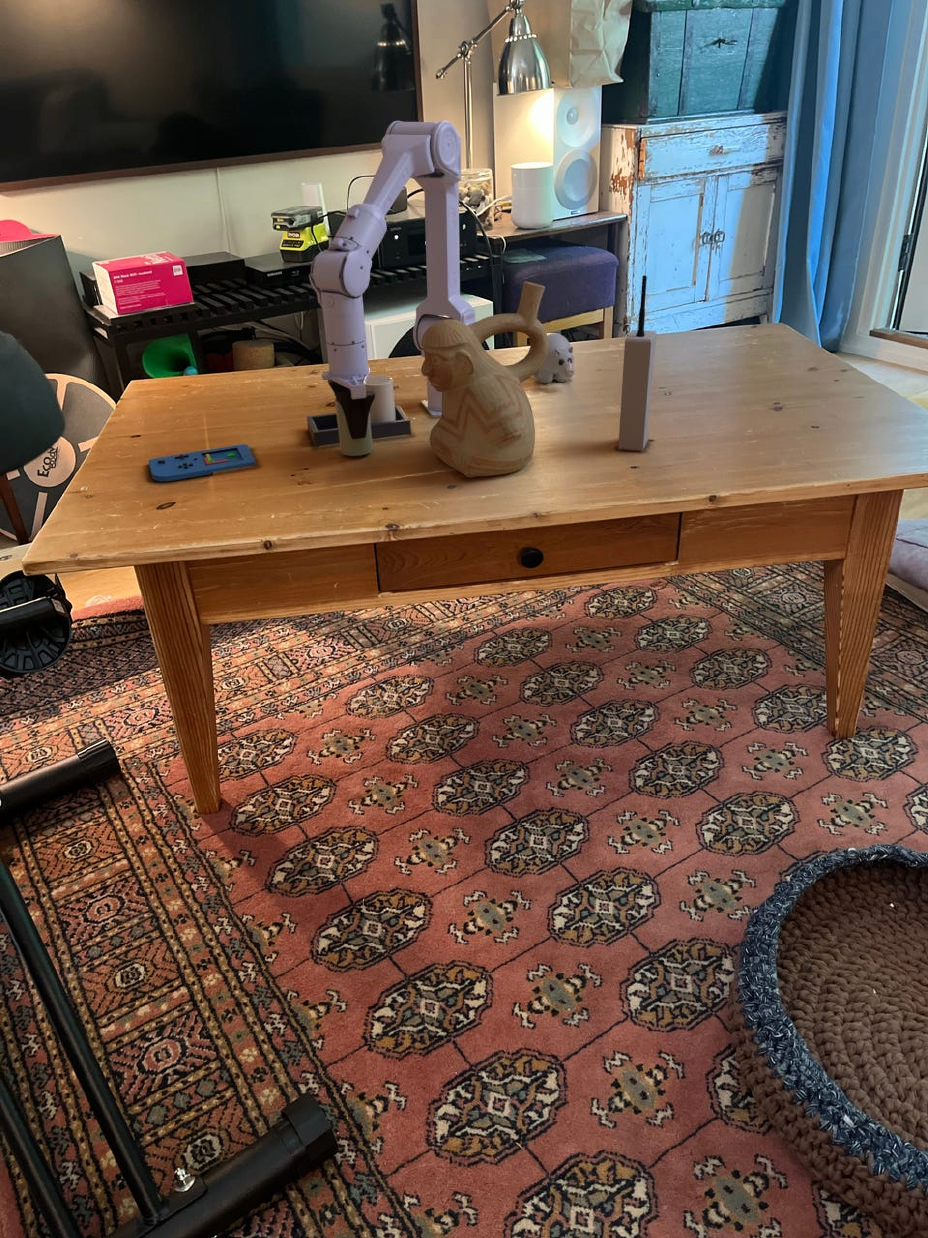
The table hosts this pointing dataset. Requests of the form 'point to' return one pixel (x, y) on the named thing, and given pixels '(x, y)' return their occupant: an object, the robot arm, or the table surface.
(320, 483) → the table surface
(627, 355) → the vintage mobile phone
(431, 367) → the ceramic vessel
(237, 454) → the handheld gaming device
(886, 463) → the table surface
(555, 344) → the chubby cartoon animal
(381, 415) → the cream cup
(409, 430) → the cup holder
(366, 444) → the green cup
